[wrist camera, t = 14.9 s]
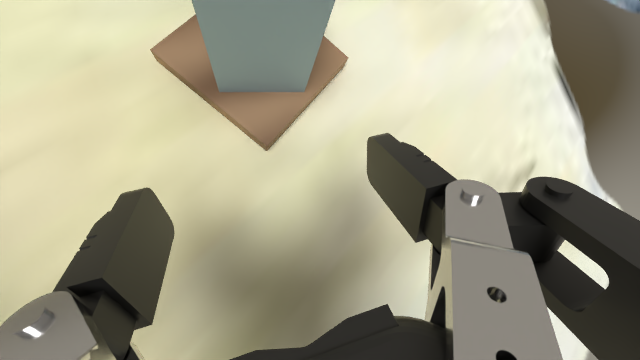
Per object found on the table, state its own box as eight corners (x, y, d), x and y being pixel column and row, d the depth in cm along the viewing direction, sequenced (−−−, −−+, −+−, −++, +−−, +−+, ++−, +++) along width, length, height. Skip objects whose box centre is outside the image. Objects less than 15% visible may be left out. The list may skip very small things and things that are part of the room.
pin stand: (157, 60, 18) (78, -66, 10) (251, -15, 21) (246, -160, 13) (266, 151, 19) (272, 97, 11) (343, 66, 22) (391, -25, 14)
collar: (219, 92, 18) (180, -38, 9) (213, 15, 18) (174, -171, 10) (304, 92, 19) (341, -19, 10) (295, 21, 20) (323, -136, 11)
